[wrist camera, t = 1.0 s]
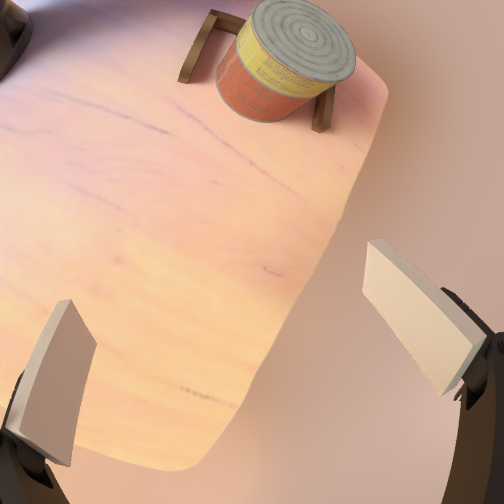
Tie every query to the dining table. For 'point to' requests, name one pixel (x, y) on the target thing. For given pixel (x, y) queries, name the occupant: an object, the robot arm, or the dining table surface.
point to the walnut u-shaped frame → (234, 26)
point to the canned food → (283, 60)
